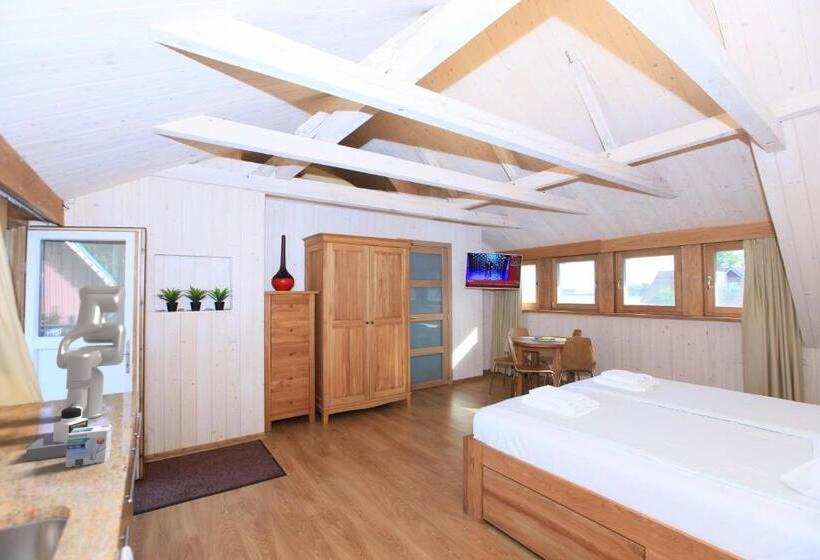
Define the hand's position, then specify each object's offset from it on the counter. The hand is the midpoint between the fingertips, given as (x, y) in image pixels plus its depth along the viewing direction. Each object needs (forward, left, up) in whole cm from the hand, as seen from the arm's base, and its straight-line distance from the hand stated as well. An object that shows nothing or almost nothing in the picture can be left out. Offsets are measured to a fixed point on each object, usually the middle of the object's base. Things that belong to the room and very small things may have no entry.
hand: (76, 429), depth 153 cm
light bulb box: (+34, +11, -1) cm, 36 cm away
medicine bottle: (+8, 0, -1) cm, 8 cm away
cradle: (+21, 0, -1) cm, 21 cm away
